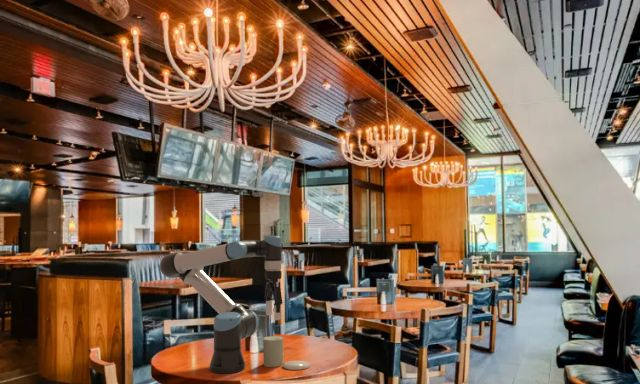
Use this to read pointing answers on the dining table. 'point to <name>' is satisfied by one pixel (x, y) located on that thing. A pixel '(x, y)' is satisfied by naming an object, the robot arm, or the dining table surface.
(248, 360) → the dining table surface
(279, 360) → the can
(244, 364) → the robot arm
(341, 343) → the dining table surface
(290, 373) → the dining table surface
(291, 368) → the disc
